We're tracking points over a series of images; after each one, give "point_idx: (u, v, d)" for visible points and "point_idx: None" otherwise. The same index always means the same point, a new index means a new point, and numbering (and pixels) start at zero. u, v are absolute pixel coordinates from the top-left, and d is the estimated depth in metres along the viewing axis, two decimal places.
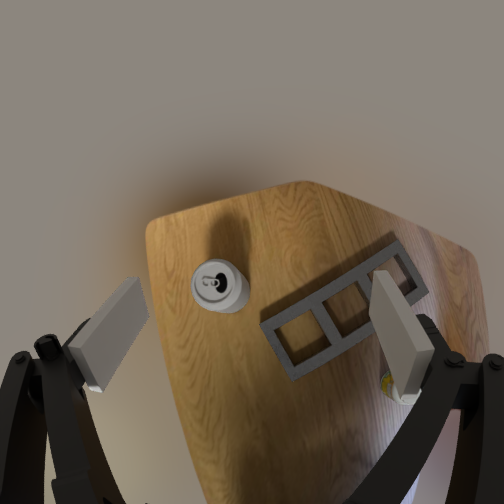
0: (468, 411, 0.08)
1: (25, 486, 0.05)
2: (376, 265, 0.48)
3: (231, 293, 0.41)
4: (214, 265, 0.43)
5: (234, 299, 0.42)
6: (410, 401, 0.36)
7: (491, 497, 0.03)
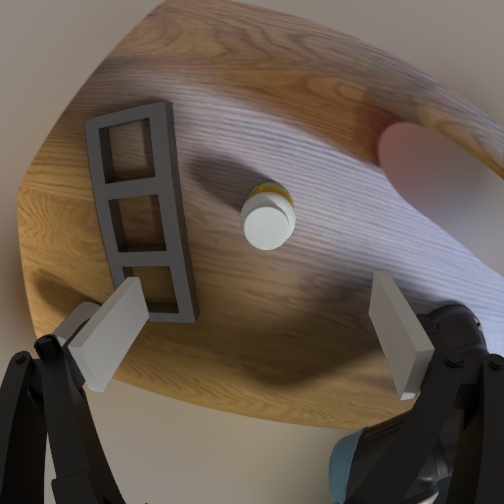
0: (467, 411, 0.08)
1: (25, 486, 0.05)
2: (100, 166, 0.33)
3: None
4: None
5: None
6: (276, 241, 0.27)
7: (491, 497, 0.03)
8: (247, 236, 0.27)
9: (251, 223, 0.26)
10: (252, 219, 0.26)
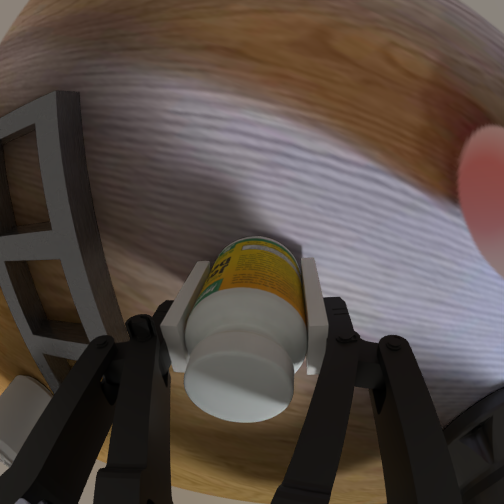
0: (377, 395, 0.10)
1: (65, 478, 0.06)
2: None
3: (1, 455, 0.17)
4: None
5: (11, 451, 0.18)
6: (263, 412, 0.10)
7: (431, 474, 0.05)
8: (195, 401, 0.10)
9: (200, 381, 0.10)
10: (201, 374, 0.10)
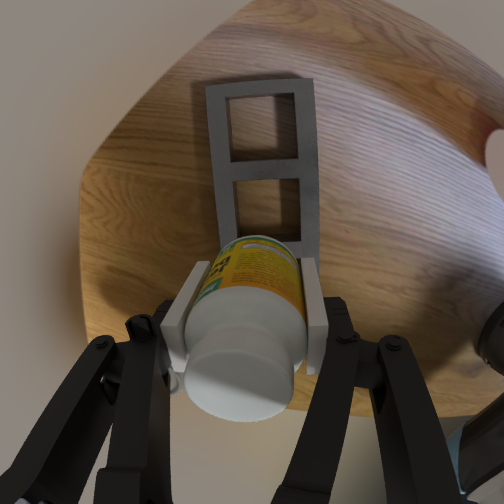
0: (377, 395, 0.10)
1: (65, 478, 0.06)
2: (225, 141, 0.30)
3: (173, 372, 0.31)
4: None
5: None
6: (262, 411, 0.10)
7: (431, 474, 0.05)
8: (194, 400, 0.10)
9: (200, 380, 0.10)
10: (201, 373, 0.10)
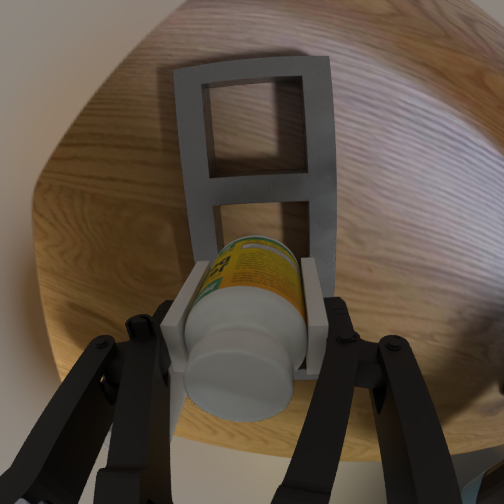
0: (377, 394, 0.10)
1: (65, 478, 0.06)
2: (202, 147, 0.21)
3: None
4: None
5: None
6: (262, 411, 0.10)
7: (431, 474, 0.05)
8: (194, 400, 0.10)
9: (200, 380, 0.10)
10: (201, 373, 0.10)
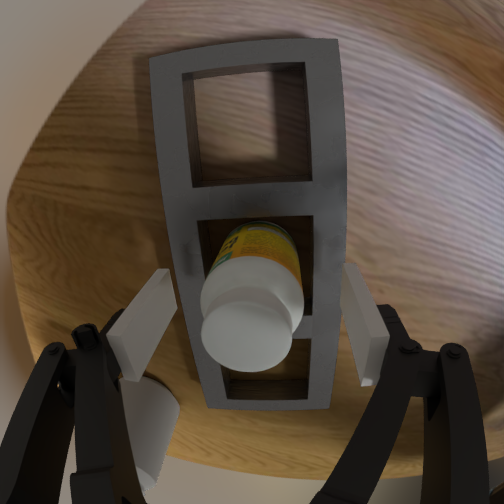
0: (430, 401, 0.09)
1: (41, 481, 0.06)
2: (183, 150, 0.17)
3: None
4: None
5: (142, 473, 0.19)
6: (267, 360, 0.13)
7: (468, 485, 0.04)
8: (209, 351, 0.13)
9: (215, 330, 0.13)
10: (216, 324, 0.13)
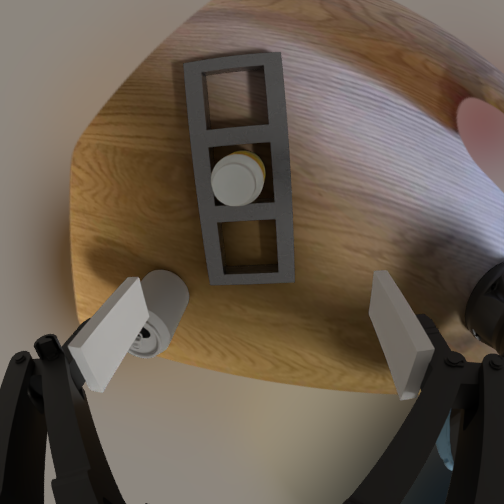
0: (468, 411, 0.08)
1: (25, 486, 0.05)
2: (202, 110, 0.31)
3: (152, 329, 0.32)
4: None
5: (162, 324, 0.33)
6: (243, 197, 0.28)
7: (491, 497, 0.03)
8: (215, 193, 0.28)
9: (219, 180, 0.27)
10: (219, 176, 0.27)
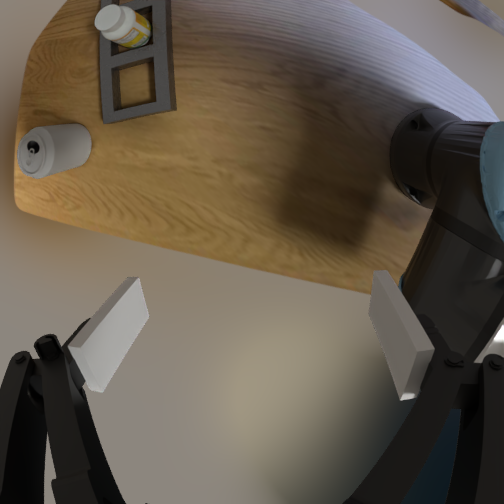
0: (467, 411, 0.08)
1: (25, 486, 0.05)
2: None
3: (40, 139, 0.30)
4: (21, 149, 0.31)
5: (49, 138, 0.32)
6: (112, 22, 0.26)
7: (491, 497, 0.03)
8: (96, 25, 0.26)
9: (99, 17, 0.26)
10: (100, 14, 0.26)
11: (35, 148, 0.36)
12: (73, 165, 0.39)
